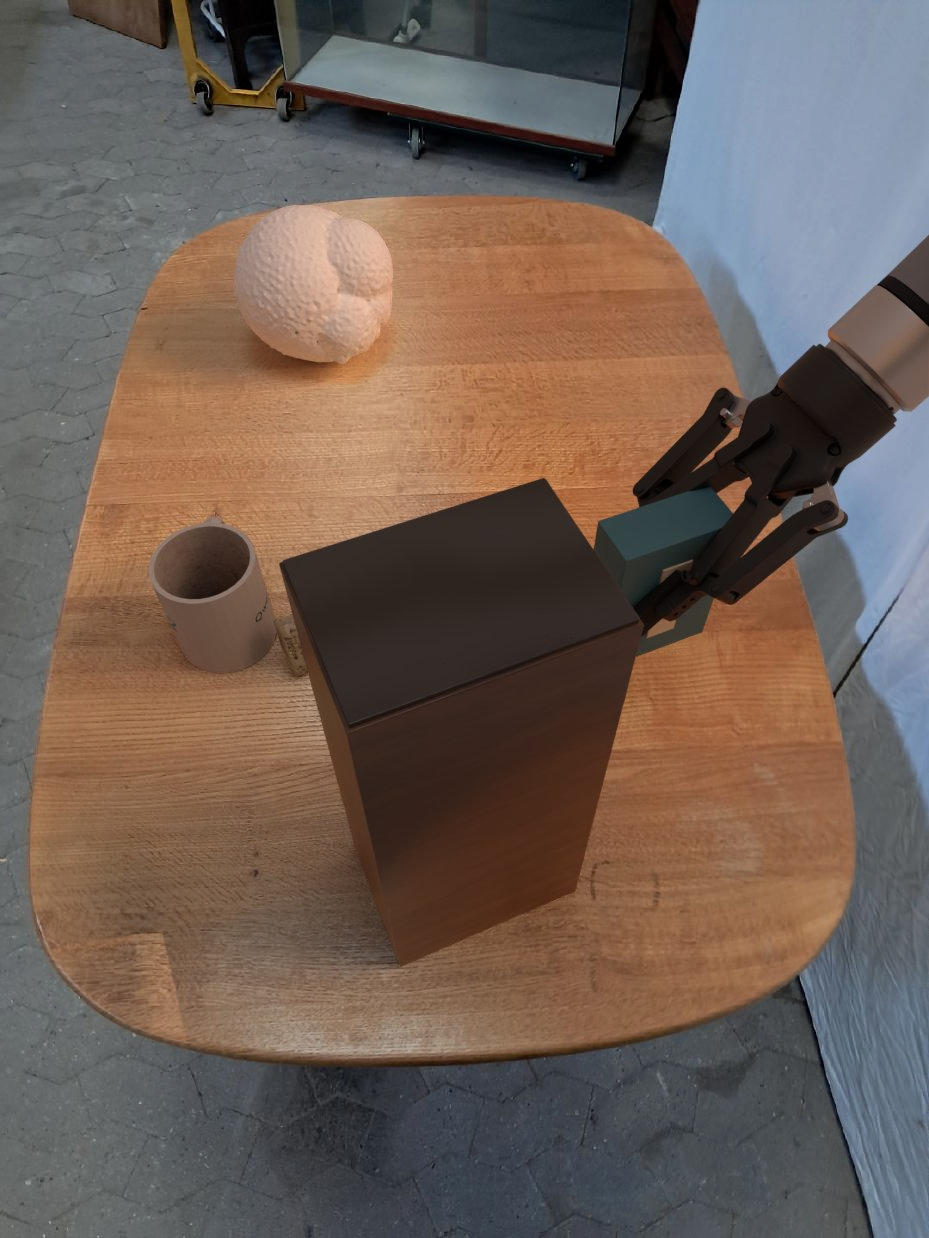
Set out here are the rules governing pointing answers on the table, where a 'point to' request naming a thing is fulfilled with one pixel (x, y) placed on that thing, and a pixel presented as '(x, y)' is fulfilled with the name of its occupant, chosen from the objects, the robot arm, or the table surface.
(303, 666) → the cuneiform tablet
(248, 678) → the table surface
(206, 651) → the mug
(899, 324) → the robot arm
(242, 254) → the decorative orb
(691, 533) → the teal box
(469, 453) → the table surface
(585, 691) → the pedestal
